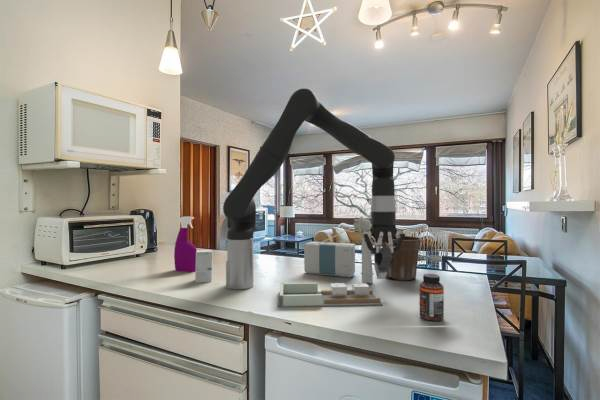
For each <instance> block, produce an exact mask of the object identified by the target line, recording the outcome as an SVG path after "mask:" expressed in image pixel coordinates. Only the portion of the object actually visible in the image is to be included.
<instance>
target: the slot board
mask: <svg viewBox="0 0 600 400" xmlns="http://www.w3.org/2000/svg"><path fill="white" fill-rule="evenodd" d="M373 292H374V290H373V289H369V298H353V296H352V289H347V298H331V296H330V289H328V290H327V289H324V290H323V289H321V290H320V291H318V292H315V293H283V295H300V294H322V305H315V306H280V291H278V300H277V307H278V308H319V307H320V308H321V307H322V308H324V307H326V308H327V307H334V308H335V307H374V306H375V307H377V306H378V307H379V306H380V307H383V305H384V304H383V303H382V302H381V301H382V300H381V298H380V297H377V296H376V295H375V294H374V293H373Z"/></svg>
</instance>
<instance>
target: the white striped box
mask: <svg viewBox="0 0 600 400" xmlns="http://www.w3.org/2000/svg"><path fill="white" fill-rule="evenodd" d="M352 229H353V227H350V228H348V229H346V230H344V231H342V232H341V231H340V232H339V233H337V234H335V235H333V236H331V237H329V238H326V239H325V240H322V241H308V242H306V243H304V245H303V247H304V249H303V250H304V251H303V252H304V254H303V258H304V259H303V265H304V266H303V268H304V270H303V271H304V273H306V274H309V275H310V274H311V275H323V276H333V277H342V278H343V277H344V278H352V277H353V276H354V275H355V273H356V244H355V243H347V242H346V243H345V242H343V243H342V242H327V241H329V240H331V239H333V238H335V237H337V236H339V235H341V234H343V233H345V232H347V231H349V230H352Z"/></svg>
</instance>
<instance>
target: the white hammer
mask: <svg viewBox="0 0 600 400" xmlns="http://www.w3.org/2000/svg"><path fill="white" fill-rule="evenodd" d="M353 221H354V222H353V228H354V230H353V231H354V233H359V234H361V272H360V275H361V283H366V284H367V285H372V284H373V283H374V282H373V275H374V273H373V262H372V261H373V259H372V257H373V256H372V251H370V250H369V249H368V247H367V245H366V242H365V240H364V238H363V236H362V234H363V233H367V232H369V231H370V229H371V220H370V219H369V218H365V217H364V216H359V217H354V219H353Z"/></svg>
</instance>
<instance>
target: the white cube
mask: <svg viewBox="0 0 600 400" xmlns="http://www.w3.org/2000/svg"><path fill="white" fill-rule="evenodd" d="M329 287H330V289H329V290H330V296H331V298H347V290H348V287H347V285H346V284H345V283H344V282H334V283H332V282H331V283H330V285H329Z"/></svg>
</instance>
